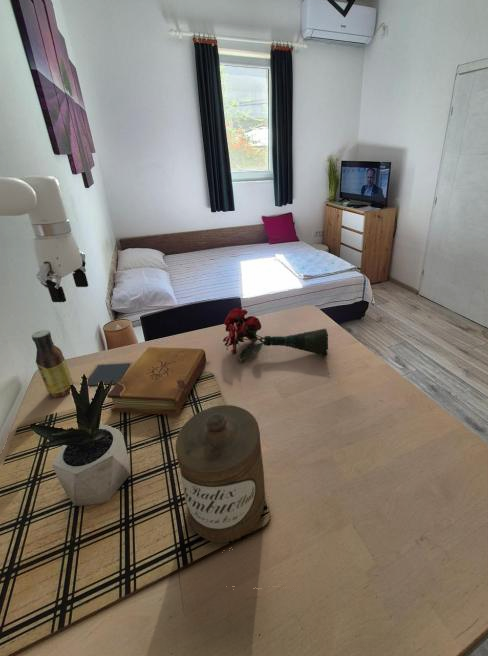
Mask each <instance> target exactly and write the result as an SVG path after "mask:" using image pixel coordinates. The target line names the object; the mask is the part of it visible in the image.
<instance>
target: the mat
mask: <svg viewBox="0 0 488 656" xmlns="http://www.w3.org/2000/svg"><path fill="white" fill-rule="evenodd" d="M130 365H131V362H129V363H113V364H98V365H97V366H96V368H95V369H94V370H93V372H92V373H91V374H90V376H89V377H88V378H87V380H88V386H87V387H93V386H95V387H96V386H99V385H98V383H99V382H100V381H103V382H104V385H103V386H109V384H110V382H111V381H112V380H113V384H112V385H116V384H117V383H118V382H119V381H120V380H121V378H122V377H123V376H124V375H125V374H126V373H127V371H128V368H129V367H130Z"/></svg>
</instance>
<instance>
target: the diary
mask: <svg viewBox="0 0 488 656" xmlns="http://www.w3.org/2000/svg"><path fill="white" fill-rule="evenodd" d="M206 363H207V355H206V351H205V350H204V349H203V348H191V347H190V348H189V347H188V348H186V347H160V346H155V347H154V346H148V348H147V349H145V351H144V352H143V353H142V354H141V356H140V357H138V359H137V360H136V361H135V362H134V363H133V365H132V366H131V367H130V368H129V369H127V371H126V372H125V373H124V375H123V377H122V378H121V380H120V381H119V382H118V383H117V384H114V386H113V388H112V389H111V390H110V391H109V392H108V393H107V394H106V396H107V397H106V398H107V399H111V400H112V403H113V405H112V406H111V408H110V412H112V413H125V414H127V413H128V414H144V415H145V414H146V415H163V416H164V415H165V416H166V415H167V416H177V415H179V414H180V412H181V411H182V408H183V406H184V404H185V402H186V400H187V399H188V396H189V394H190V393H191V391H192V389H193V387H194V386H195V384H196V382H197V380H198V378H199V376H200V374H201V372H202V370H203V368H204V367H205V365H206Z"/></svg>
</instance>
